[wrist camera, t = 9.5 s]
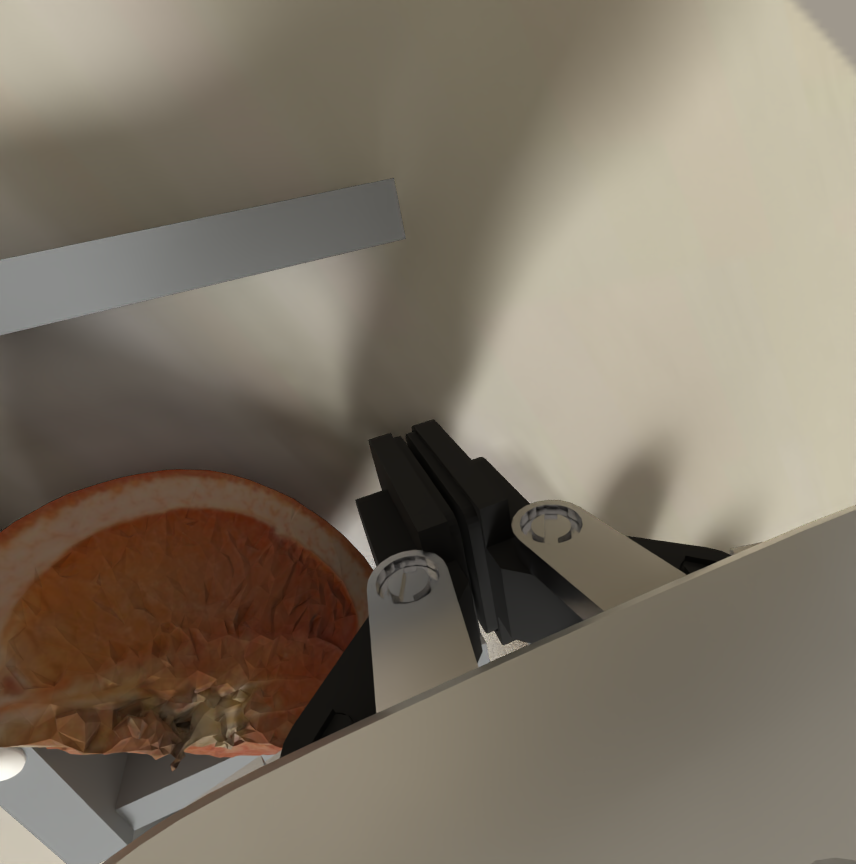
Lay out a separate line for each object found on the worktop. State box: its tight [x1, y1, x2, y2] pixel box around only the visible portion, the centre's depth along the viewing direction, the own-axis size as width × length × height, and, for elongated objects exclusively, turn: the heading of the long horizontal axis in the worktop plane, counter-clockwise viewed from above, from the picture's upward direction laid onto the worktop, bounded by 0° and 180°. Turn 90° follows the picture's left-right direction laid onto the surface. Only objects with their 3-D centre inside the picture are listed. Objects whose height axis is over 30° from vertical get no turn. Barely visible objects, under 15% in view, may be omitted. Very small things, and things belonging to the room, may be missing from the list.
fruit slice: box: [0, 469, 373, 771], centre depth 10 cm, size 8×7×5 cm
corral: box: [0, 178, 490, 864], centre depth 11 cm, size 11×13×2 cm
